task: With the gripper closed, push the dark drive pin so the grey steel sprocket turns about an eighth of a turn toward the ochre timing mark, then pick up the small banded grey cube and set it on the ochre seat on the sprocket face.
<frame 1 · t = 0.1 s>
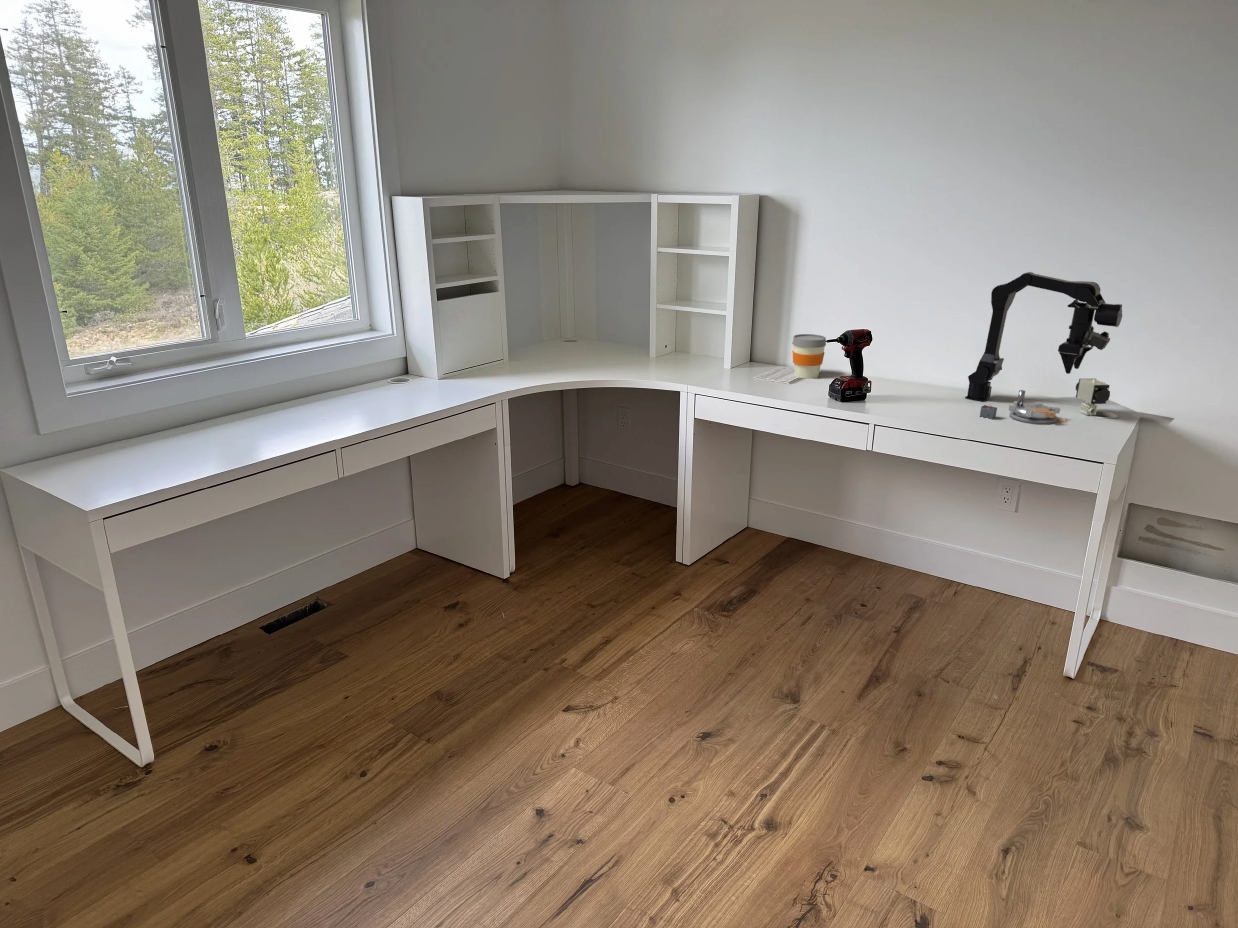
hand: (1072, 371, 266), 15 cm above the table, tool pointing down, fingers open, 9 cm apart
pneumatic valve: (1088, 414, 272), on the table
sprocket: (1035, 403, 265), point 5 cm above the table, hinge at 0.0°
banded grey cube: (987, 417, 268), on the table
plinth: (1032, 418, 267), on the table
reusable coffee cup: (806, 376, 320), on the table
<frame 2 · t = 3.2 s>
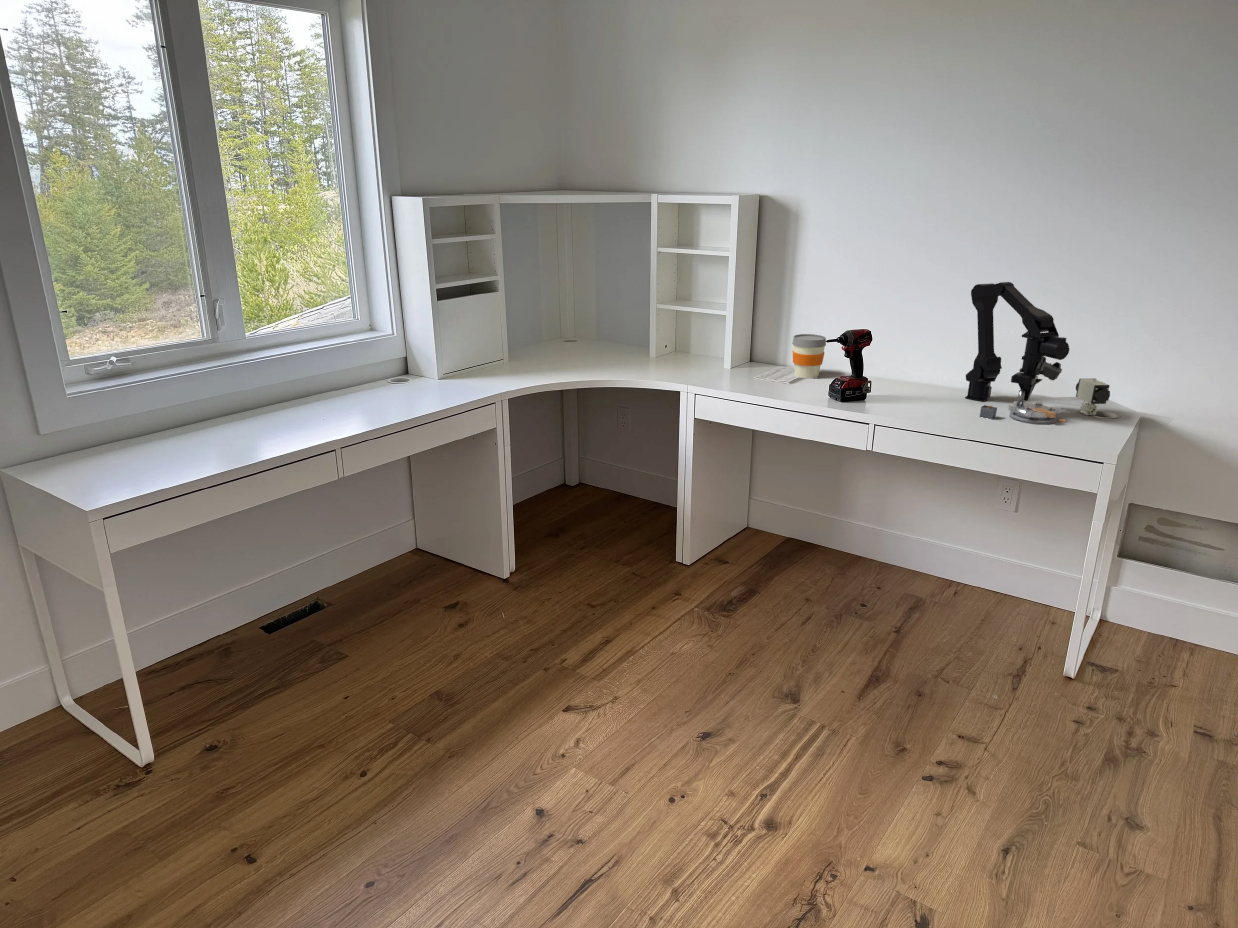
hand: (1025, 400, 270), 5 cm above the table, tool pointing down, fingers closed
sprocket: (1035, 403, 265), point 5 cm above the table, hinge at 0.0°, touching gripper
everything else where it was.
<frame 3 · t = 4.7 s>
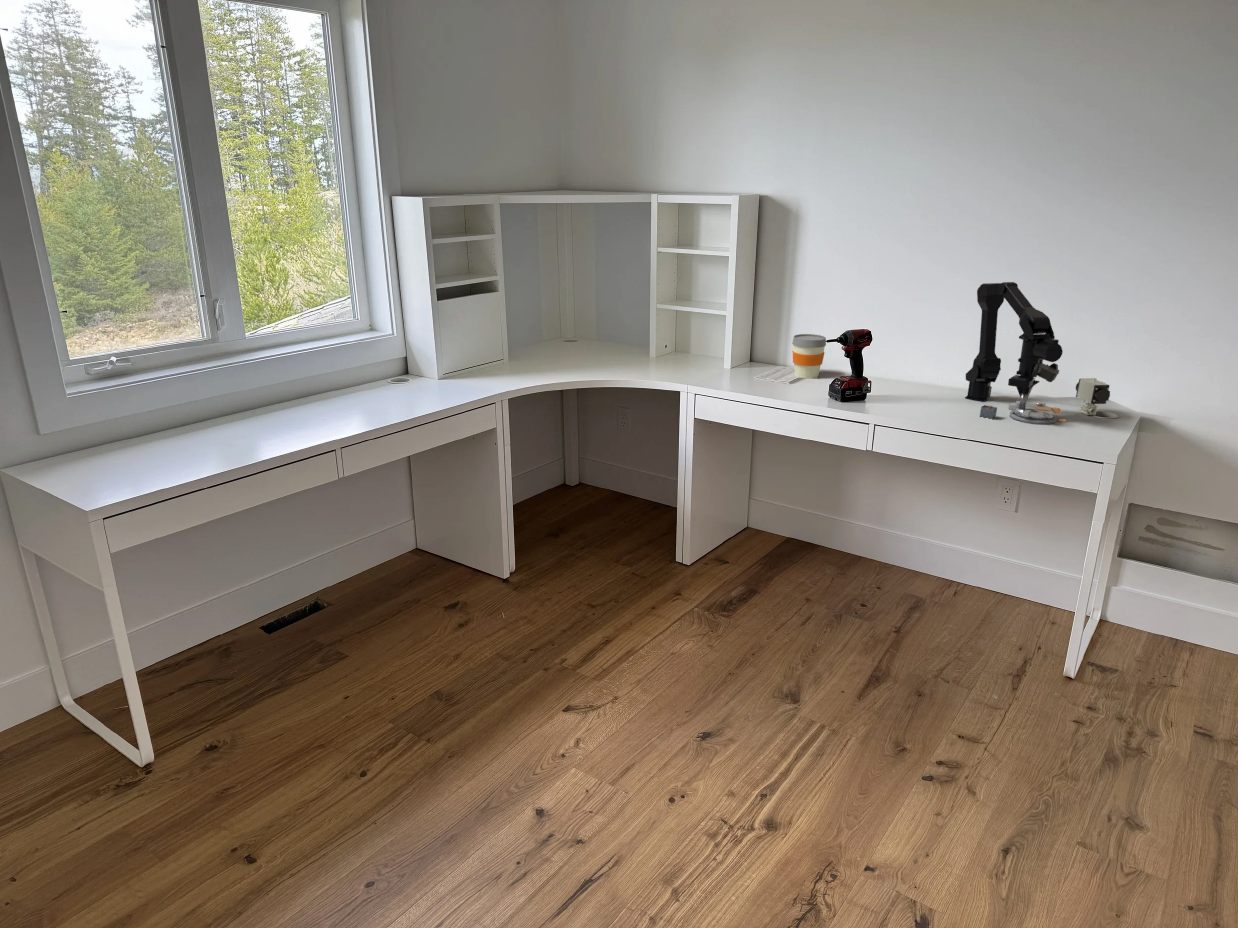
hand: (1023, 402, 267), 5 cm above the table, tool pointing down, fingers closed
sprocket: (1035, 403, 265), point 5 cm above the table, hinge at 53.4°, touching gripper
everything else where it was.
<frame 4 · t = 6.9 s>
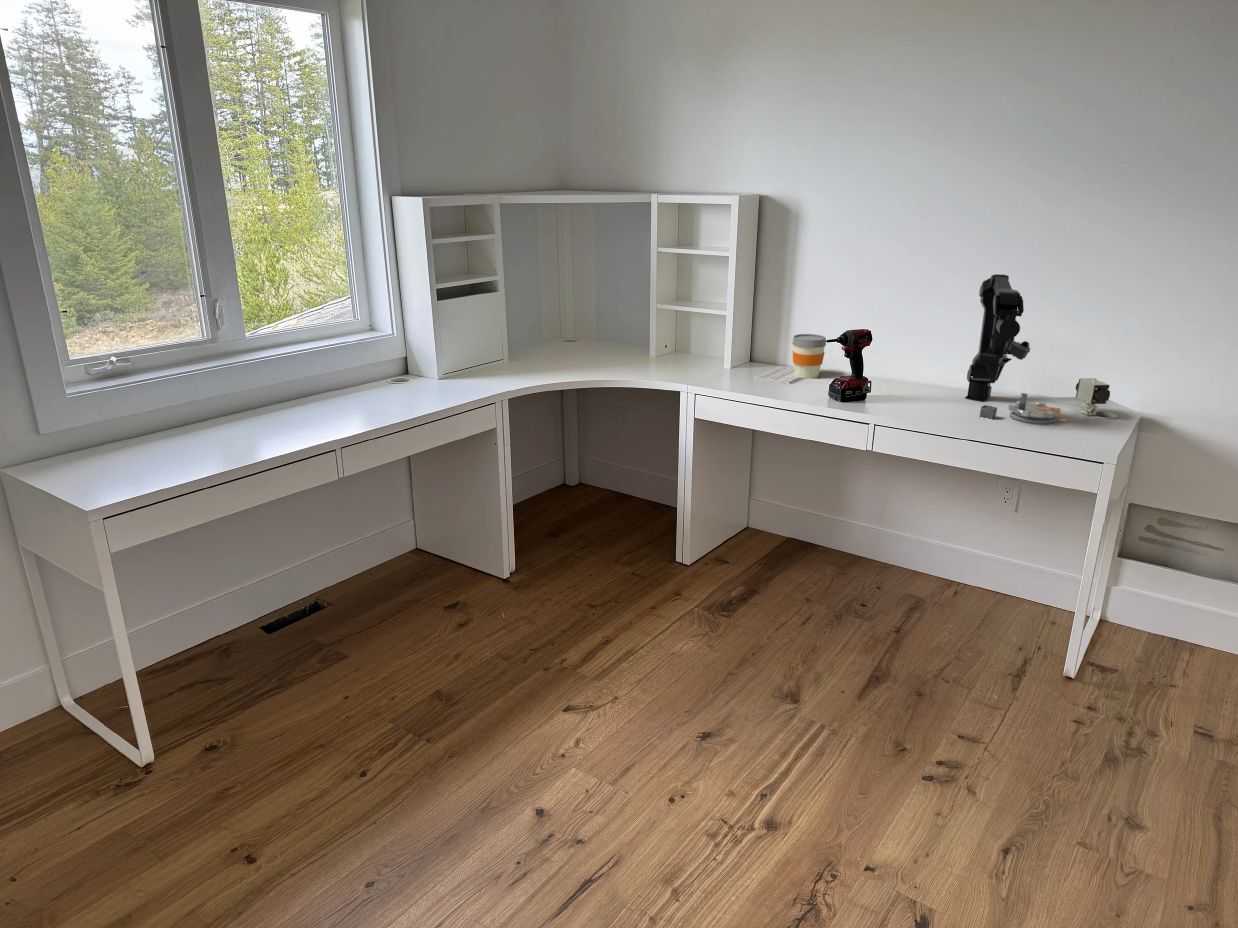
hand: (994, 381, 264), 12 cm above the table, tool pointing down, fingers closed
sprocket: (1035, 403, 265), point 5 cm above the table, hinge at 53.2°
everything else where it was.
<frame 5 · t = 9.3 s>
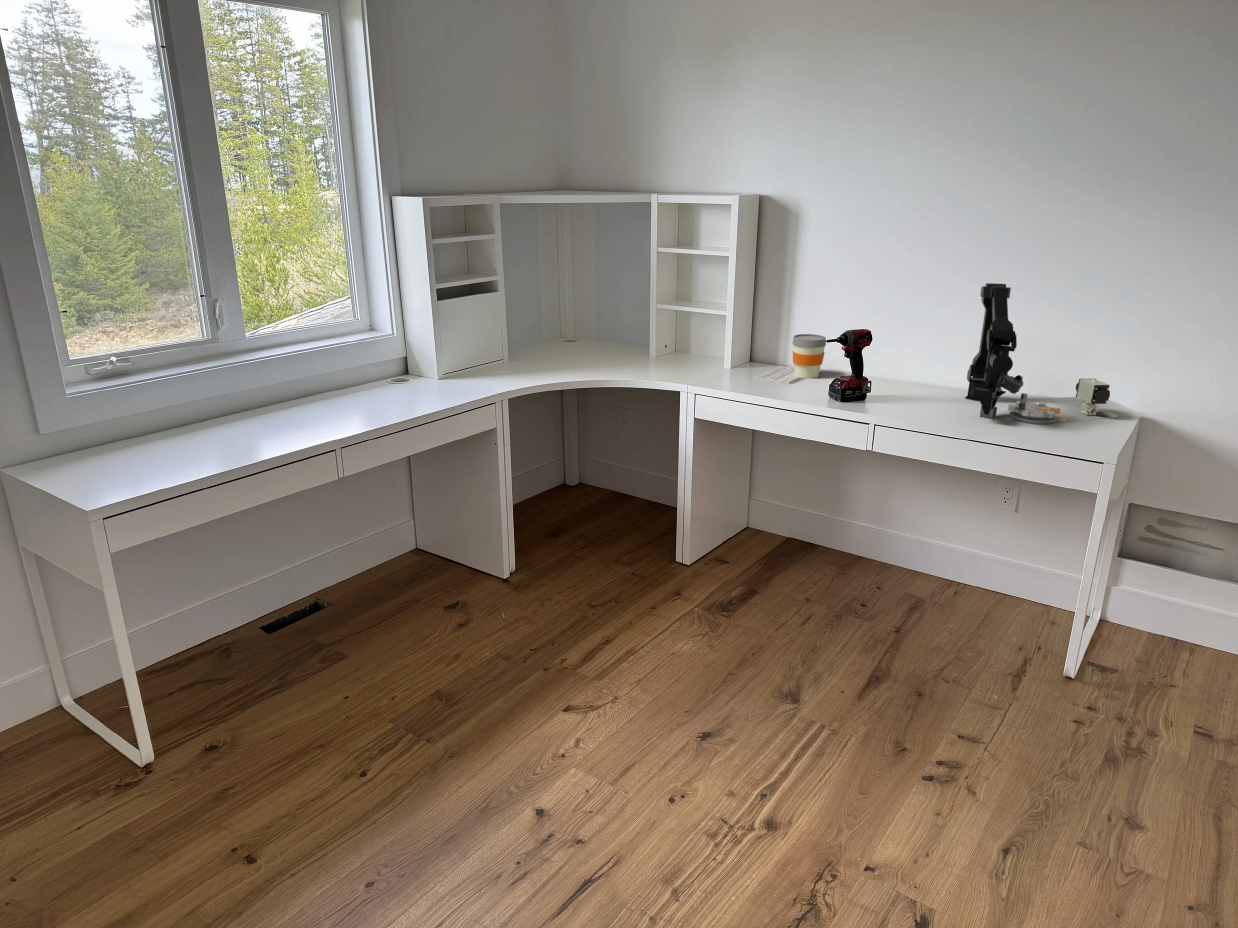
hand: (988, 413, 267), 1 cm above the table, tool pointing down, fingers closed on banded grey cube, 3 cm apart
banded grey cube: (987, 417, 268), on the table, touching gripper
everything else where it was.
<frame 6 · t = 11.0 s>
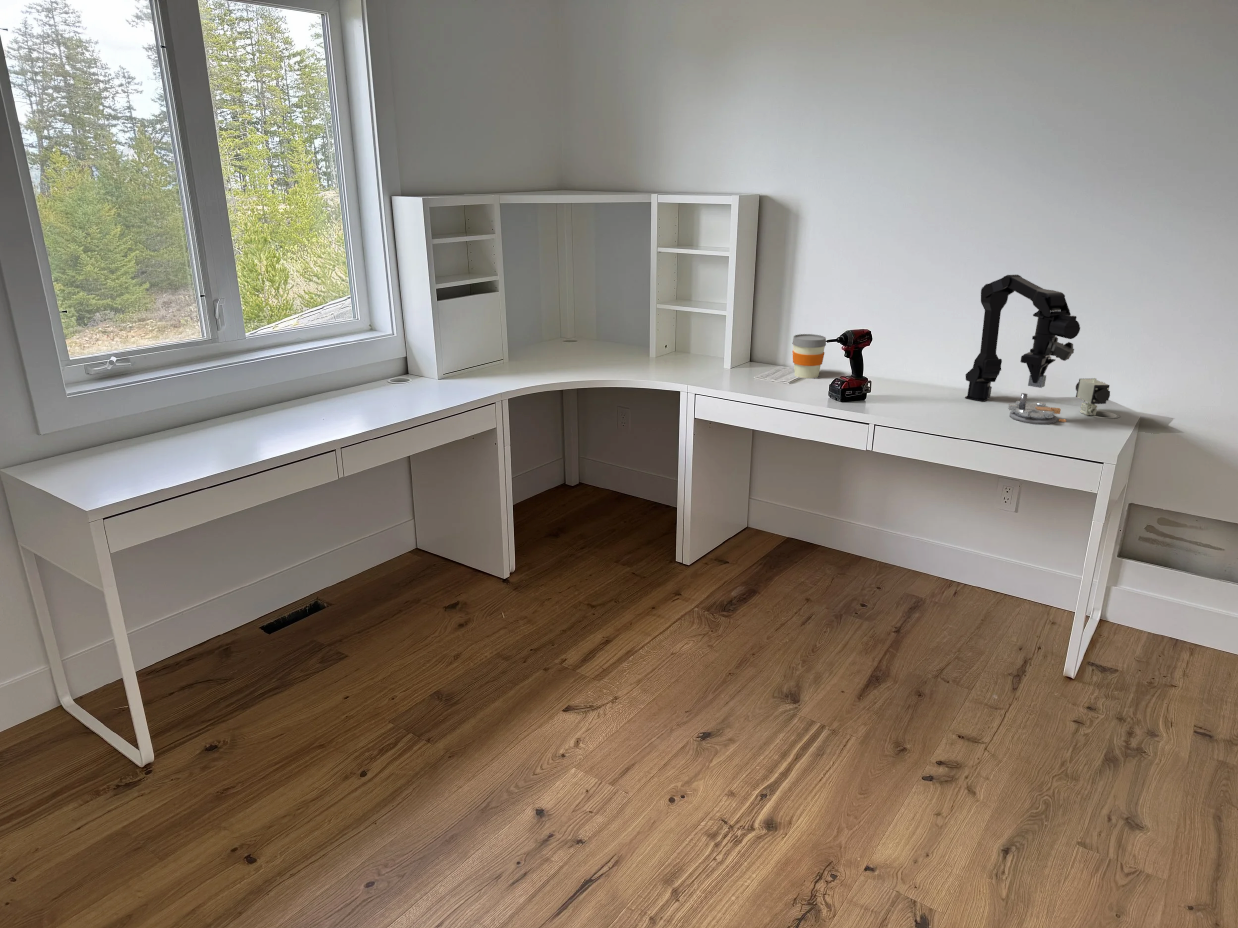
hand: (1036, 382, 262), 12 cm above the table, tool pointing down, fingers closed on banded grey cube, 3 cm apart
banded grey cube: (1036, 386, 262), point 11 cm above the table, touching gripper
everything else where it was.
when the fingers open (5 cm above the table, at t = 12.8 s): banded grey cube stays where it is, resting on sprocket.
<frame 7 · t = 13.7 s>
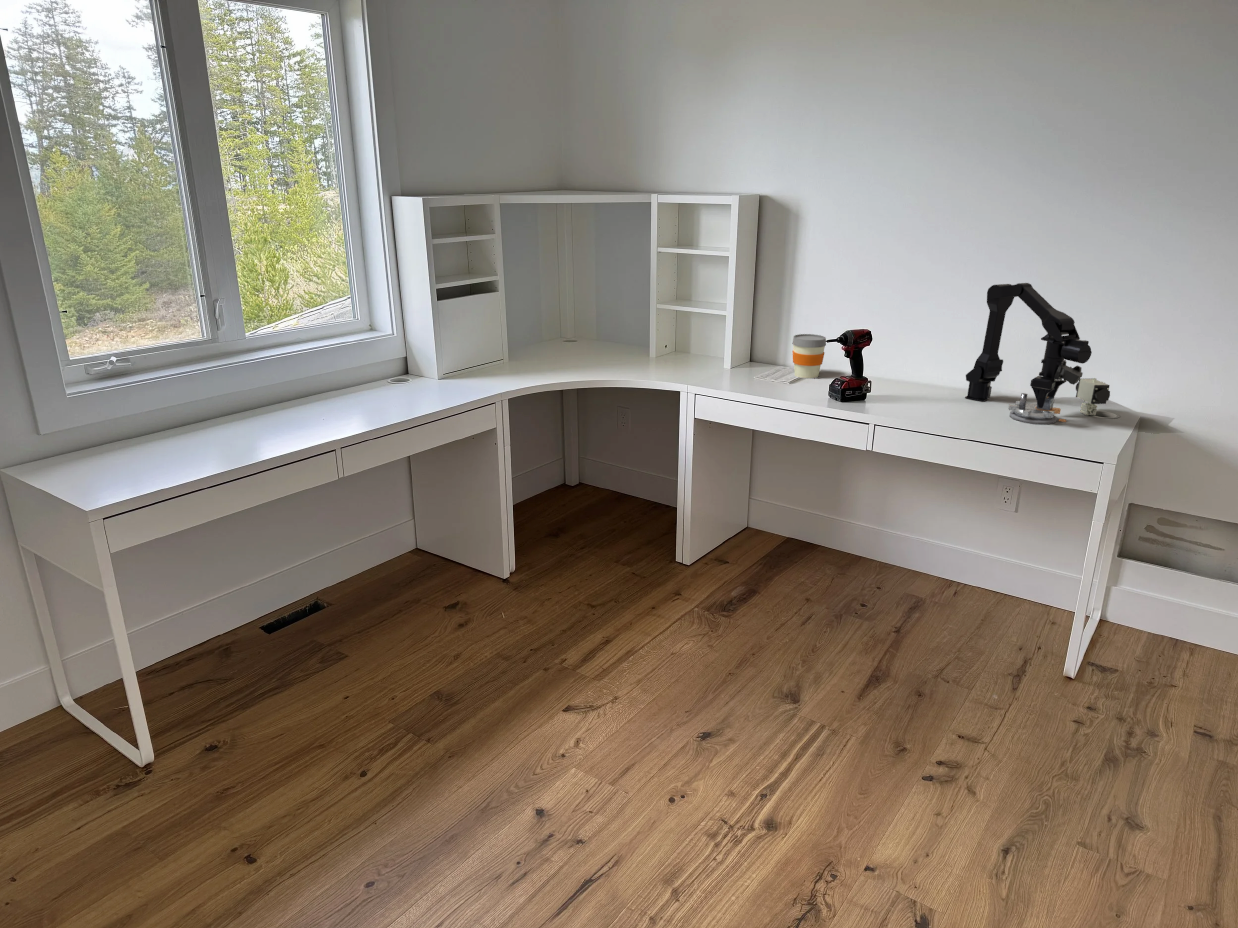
hand: (1045, 404, 264), 5 cm above the table, tool pointing down, fingers open, 9 cm apart
sprocket: (1035, 403, 265), point 5 cm above the table, hinge at 53.4°, touching banded grey cube
banded grey cube: (1044, 408, 265), point 4 cm above the table, touching sprocket
everything else where it was.
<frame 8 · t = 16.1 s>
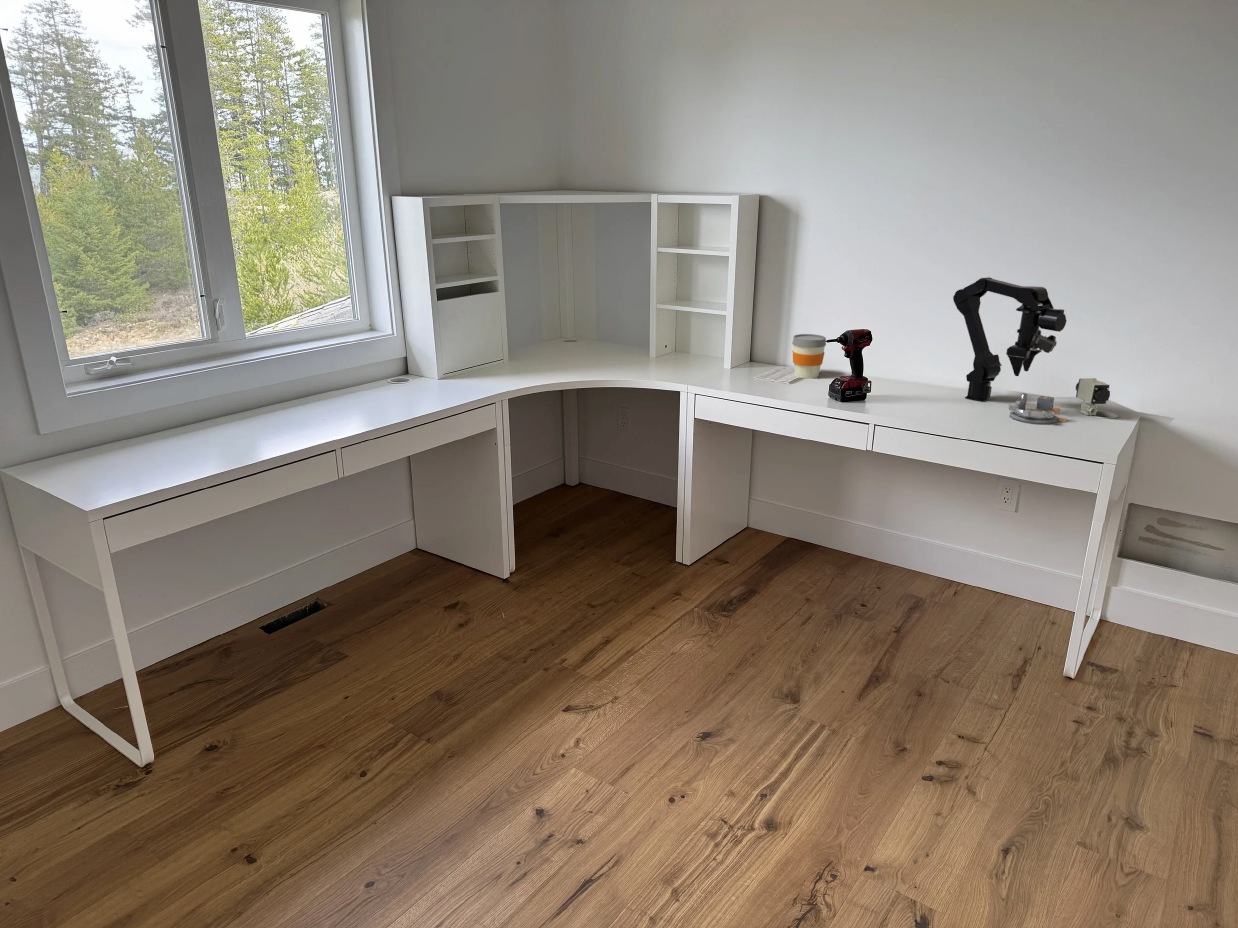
hand: (1021, 373, 274), 12 cm above the table, tool pointing down, fingers open, 9 cm apart
nothing on the table moved.
at the end: sprocket at +53° (first picture: +0°); banded grey cube 3.0 cm from the sprocket (horizontally); banded grey cube point 3.7 cm above the table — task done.
